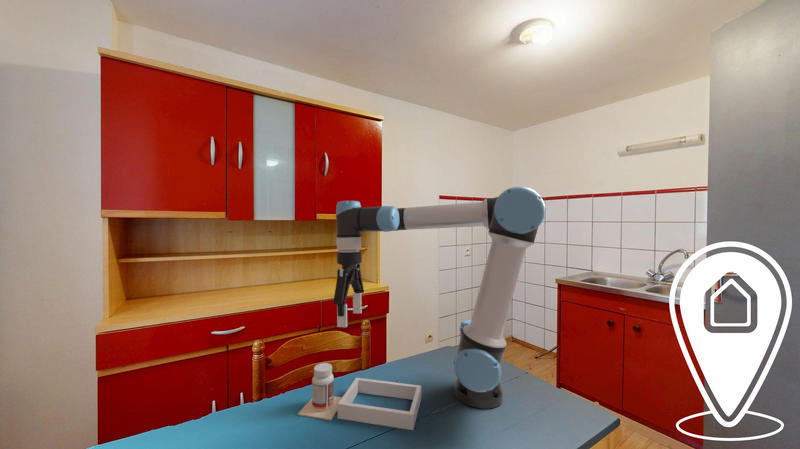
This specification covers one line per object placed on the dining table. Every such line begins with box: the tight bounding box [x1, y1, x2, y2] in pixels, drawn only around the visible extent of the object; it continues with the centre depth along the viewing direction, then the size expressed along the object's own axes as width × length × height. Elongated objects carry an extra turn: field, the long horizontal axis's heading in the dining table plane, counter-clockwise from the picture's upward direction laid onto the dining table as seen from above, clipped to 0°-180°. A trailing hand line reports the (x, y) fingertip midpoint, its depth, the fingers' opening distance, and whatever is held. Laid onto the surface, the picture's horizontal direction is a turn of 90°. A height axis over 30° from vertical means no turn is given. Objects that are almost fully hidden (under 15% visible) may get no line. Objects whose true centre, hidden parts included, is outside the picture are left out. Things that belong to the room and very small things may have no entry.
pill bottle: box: [311, 362, 335, 411], centre depth 87 cm, size 6×6×11 cm
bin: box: [337, 377, 422, 431], centre depth 87 cm, size 21×14×4 cm
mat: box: [297, 396, 342, 421], centre depth 87 cm, size 10×10×1 cm
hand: (350, 319), depth 92 cm, fingers open, 13 cm apart
